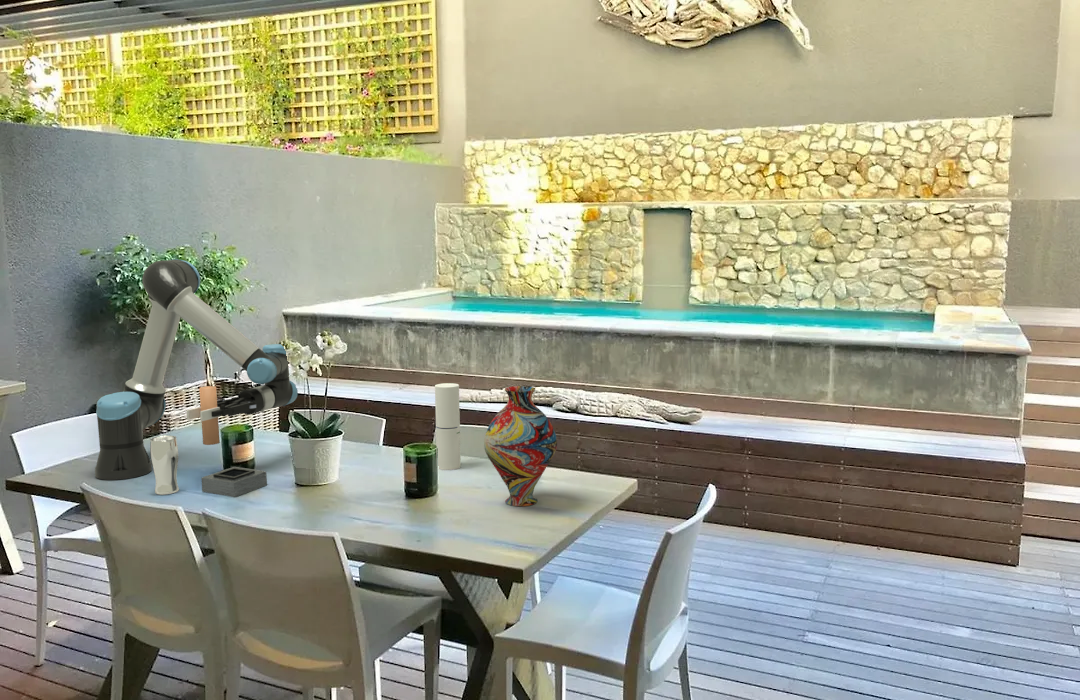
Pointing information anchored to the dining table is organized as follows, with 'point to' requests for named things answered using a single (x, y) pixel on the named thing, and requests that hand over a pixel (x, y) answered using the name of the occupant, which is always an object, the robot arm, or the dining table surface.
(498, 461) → the vase
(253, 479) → the collar block
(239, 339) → the robot arm
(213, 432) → the terracotta peg
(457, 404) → the cylindrical container
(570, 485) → the dining table surface
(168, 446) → the beer glass
